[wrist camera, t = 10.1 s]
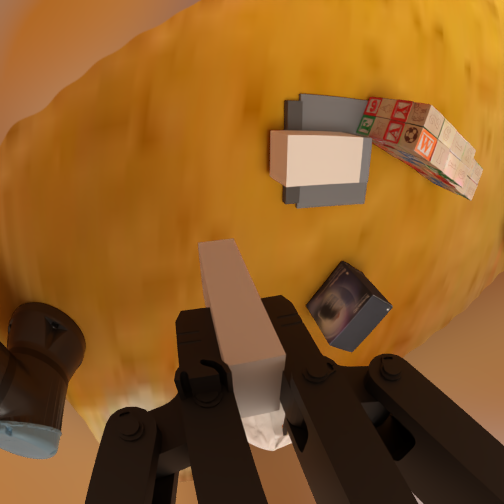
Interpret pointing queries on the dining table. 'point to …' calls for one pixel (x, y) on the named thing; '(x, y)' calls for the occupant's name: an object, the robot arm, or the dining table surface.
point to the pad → (324, 119)
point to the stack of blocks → (422, 142)
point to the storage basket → (266, 430)
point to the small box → (347, 307)
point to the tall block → (318, 157)
